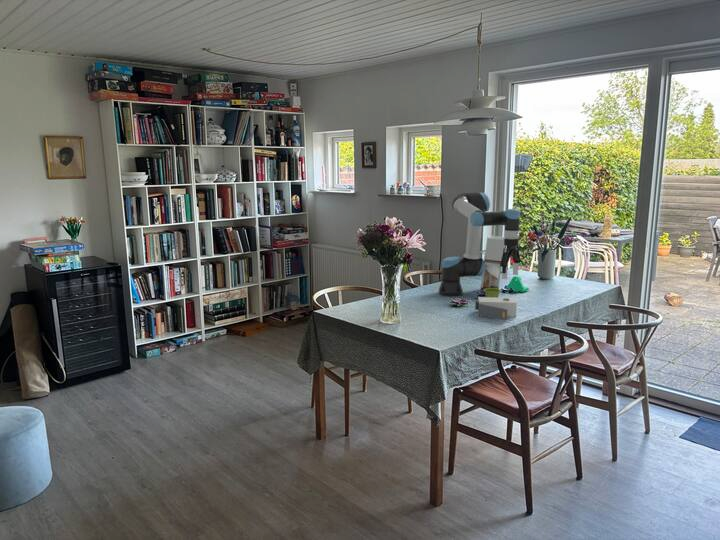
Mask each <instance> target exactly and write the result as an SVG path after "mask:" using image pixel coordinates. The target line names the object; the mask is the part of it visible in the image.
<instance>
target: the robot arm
mask: <svg viewBox="0 0 720 540" xmlns="http://www.w3.org/2000/svg"><path fill="white" fill-rule="evenodd" d="M450 206H451V209H452V210H453V211H454V212H455V213H457V214H462V215H463V216H465V217H466V218H467V219H468V220H467V232H466V233H467V234H466V246H465V247H466V248H465V253H464V254H462V255H463V256H462V258H461V257H460V256H448V257H446V258H443V259H442V262H441V283H440V286H439V288H438V294H439V295H442V296H446V297H459V296H462V295H463V288H462V283H461V278H465V277H466V278H467V277H469V278H470V277H481V276H480V275H482V273H483V271H484V266H485V264H484V258H483V257H482V255H481V253H480V251H481V240H482V228H483V227H488V226H490V227H491V226H504V231H503V234H504V236H503V237H505V239H504V245H505V248H504V249H503V255H502V259H501V263H500V267H501V270H502V271H501V272H502V273H501V279H502V280H507V279H508V270H507V268H508V269H509V266H508V267H507V264H508V265H509V261H510V258H512V260H513V263H512V275H514V276H519V264H521V260H522V259H521V256H520V250H519V249H520V248H519V247H520V246H519V244H520V243H519V242H520V240H519V238H520V221H521V219H520V218H521V213H520V212H521V211H520V210H519V209H517V208H507V209H505V211H504V210H498V211H489V210H490V208H491V203H490V198H489V196H488V194H487V193H485V192H475V191H474V192H461V193H458V194H457V195H455V196H454V197H453V198H452V200H451V205H450Z"/></svg>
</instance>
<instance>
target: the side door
mask: <svg viewBox="0 0 720 540" xmlns="http://www.w3.org/2000/svg"><path fill="white" fill-rule="evenodd" d="M507 310H508V309H504V308H499V307H494V306H489V305H484V304H479V315H483V316H482V317H489V318H494V319H497V320H502V321H507V320H508V317H507ZM479 315H478V316H479Z"/></svg>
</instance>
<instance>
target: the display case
mask: <svg viewBox="0 0 720 540" xmlns="http://www.w3.org/2000/svg"><path fill="white" fill-rule="evenodd" d="M504 239H505V237H504V236H497V235H487V237H486V244H485V249H484V250H485V252H484V253H485V254H484V257H483V260H484V264H485V266H484V271H483V273H482V274H481V275H482V276H481V283H480V292H483V293H485V291H484V289H486V288H494V289H499V290H500V288H499V286H500V280H501V275H502V273H501V272H502V271H501V270H502V267H500V263H501V259H502V255H503V249H504V248H506V246H505V245H504Z"/></svg>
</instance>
